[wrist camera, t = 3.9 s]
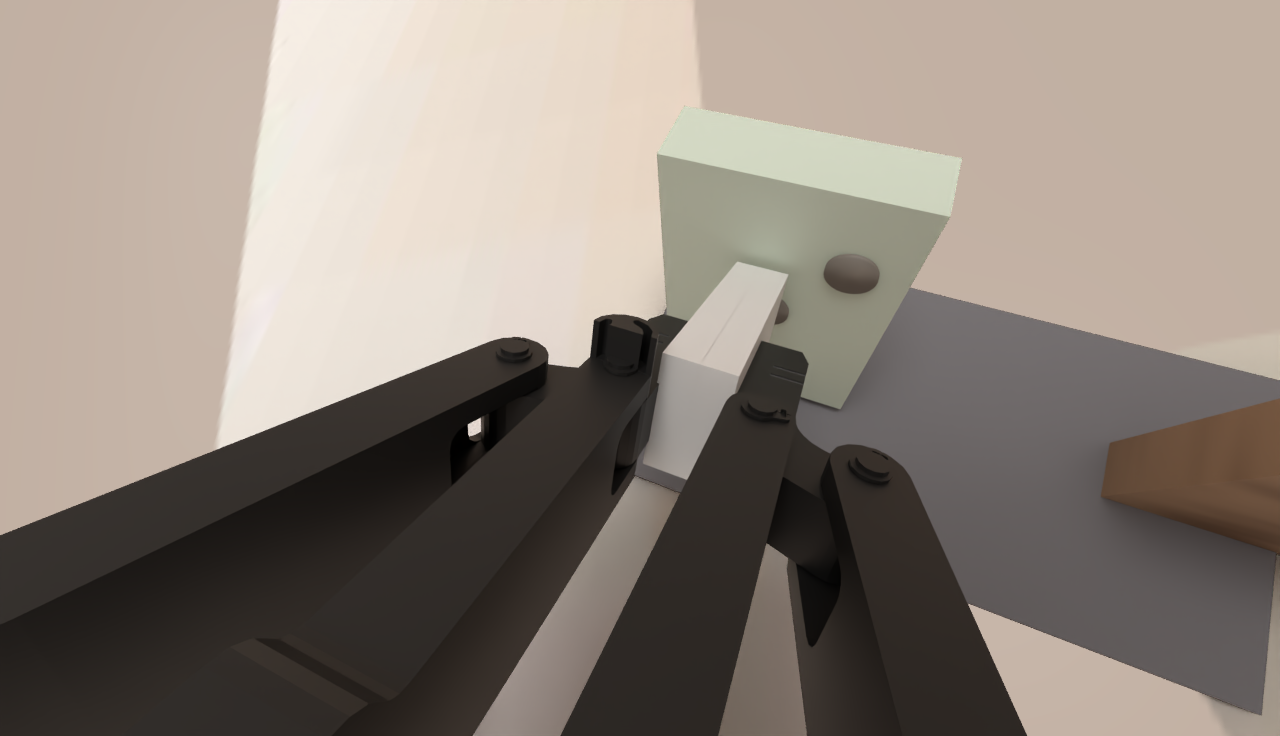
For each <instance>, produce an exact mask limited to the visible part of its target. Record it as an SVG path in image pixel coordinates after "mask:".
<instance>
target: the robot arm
mask: <svg viewBox="0 0 1280 736" xmlns="http://www.w3.org/2000/svg"><path fill="white" fill-rule="evenodd" d="M788 275H789V274H785V273H781V272H777V271H773V270H769V269H765V268H761V267H757V266H753V265H749V264H745V263H741V262H737V263H736V264H735V265H734V266H733V268H732V269H731V270H730V271H729V272H728V274H727V275H726V276H725V277H724V278H723V280H722V281H721V282H720V283H719V285H718V286H717V287H716V288H715V289H714V291H713V292H712V293H711V294H710V296H709V297H708V298H707V299H706V300H705V302H704V303H703V304H702V305H701V306H700V308H699V309H698V310H697V311H696V313H695V314H694V315H693V316H692V317H691V319H690V320H689V321H686V320H683V319H679V318H676V317H672V316H669V315H665V314H663V315H660V316H657V317H654V318H651V319H649V320H648V321H646V320H643V319H641V318H638V317H634V316H629V315H616V314H612V315H606V316H601V317H599V318H597V319H595V320H594V325H593V335H592V345H591V355H590V358H588V359H587V360H586V361H585V362H584V363H583V364H582V365H581V366H580V367H579V368H575V367H564V366H557V365H549V364H548V352H547V350H546V348H545V347H544V346H542V345H541V344H539V343H538V342H535V341H532V340H529V339H526V338H521V337H512V338H501V339H497V340H493V341H490V342H488V343H485V344H483V345H480V346H478V347H475V348H473V349H470V350H468V351H465V352H462V353H460V354H457V355H455V356H452V357H450V358H447V359H445V360H442V361H440V362H437V363H435V364H432V365H430V366H427V367H425V368H422V369H420V370H417V371H414V372H412V373H409V374H407V375H404V376H402V377H399V378H397V379H394V380H392V381H389V382H387V383H384V384H382V385H379V386H377V387H374V388H372V389H369V390H366V391H364V392H361V393H359V394H356V395H354V396H351V397H349V398H346V399H344V400H341V401H339V402H336V403H334V404H331V405H329V406H326V407H323V408H321V409H318V410H316V411H313V412H311V413H308V414H306V415H303V416H301V417H298V418H296V419H293V420H291V421H288V422H286V423H283V424H281V425H278V426H275V427H273V428H270V429H268V430H265V431H263V432H260V433H258V434H255V435H253V436H250V437H248V438H245V439H243V440H240V441H238V442H235V443H233V444H230V445H227V446H225V447H222V448H220V449H217V450H215V451H212V452H210V453H207V454H205V455H202V456H200V457H197V458H195V459H192V460H190V461H187V462H185V463H182V464H179V465H177V466H175V467H172V468H170V469H167V470H164V471H162V472H159V473H157V474H154V475H152V476H149V477H147V478H144V479H142V480H139V481H137V482H134V483H131V484H129V485H127V486H124V487H121V488H119V489H116V490H114V491H111V492H109V493H106V494H104V495H101V496H99V497H96V498H94V499H91V500H89V501H86V502H83V503H81V504H78V505H76V506H73V507H71V508H68V509H66V510H63V511H61V512H58V513H56V514H53V515H51V516H48V517H46V518H43V519H41V520H38V521H36V522H33V523H30V524H28V525H25V526H23V527H20V528H18V529H16V530H13V531H10V532H8V533H5V534H3V535H0V736H473V734H474V732H475V731H476V729H477V728H478V726H479V724H480V723H481V721H482V720H483V718H484V716H485V715H486V713H487V712H488V710H489V708H490V707H491V705H492V704H493V702H494V700H495V699H496V697H497V696H498V694H499V692H500V691H501V689H502V688H503V686H504V684H505V683H506V681H507V680H508V678H509V676H510V675H511V673H512V672H513V670H514V668H515V667H516V665H517V664H518V662H519V660H520V659H521V657H522V656H523V654H524V652H525V651H526V649H527V648H528V646H529V644H530V643H531V641H532V640H533V638H534V636H535V635H536V633H537V632H538V630H539V628H540V627H541V625H542V624H543V622H544V620H545V619H546V617H547V616H548V614H549V612H550V611H551V609H552V608H553V606H554V604H555V603H556V601H557V600H558V598H559V596H560V595H561V593H562V592H563V590H564V588H565V587H566V585H567V584H568V582H569V580H570V579H571V577H572V576H573V574H574V572H575V571H576V569H577V568H578V566H579V564H580V563H581V561H582V560H583V558H584V556H585V555H586V553H587V552H588V550H589V548H590V547H591V545H592V544H593V542H594V540H595V539H596V537H597V536H598V534H599V532H600V531H601V529H602V528H603V526H604V524H605V523H606V521H607V520H608V518H609V516H610V515H611V513H612V512H613V510H614V508H615V507H616V505H617V504H618V502H619V500H620V499H621V497H622V496H623V494H624V492H625V491H626V489H627V488H628V486H629V484H630V483H631V481H632V480H633V478H634V474H635V471H636V465H637V460H638V457H639V455H640V453H641V452H642V450H643V449H644V447H645V446H646V448H645V453H644V459H643V464H645V465H648V466H651V467H653V468H656V469H659V470H662V471H664V472H667V473H670V474H672V475H675V476H678V477H681V478H683V479H686V480H687V481H686V483H685V485H684V487H683V489H682V491H681V493H680V495H679V497H678V499H677V501H676V503H675V505H674V507H673V509H672V511H671V513H670V515H669V517H668V520H667V522H666V524H665V526H664V528H663V530H662V532H661V534H660V536H659V538H658V540H657V542H656V544H655V546H654V548H653V550H652V552H651V554H650V556H649V558H648V560H647V562H646V564H645V566H644V568H643V570H642V572H641V574H640V576H639V578H638V580H637V582H636V584H635V586H634V588H633V590H632V592H631V594H630V596H629V598H628V600H627V602H626V604H625V606H624V608H623V610H622V613H621V615H620V617H619V619H618V621H617V623H616V625H615V627H614V629H613V631H612V633H611V635H610V637H609V639H608V641H607V643H606V645H605V647H604V649H603V651H602V653H601V655H600V657H599V659H598V661H597V663H596V665H595V667H594V669H593V671H592V673H591V675H590V677H589V679H588V681H587V683H586V685H585V687H584V689H583V691H582V693H581V695H580V697H579V699H578V701H577V703H576V705H575V708H574V710H573V712H572V714H571V716H570V718H569V720H568V722H567V724H566V726H565V728H564V730H563V732H562V734H561V736H718V733H719V729H720V725H721V721H722V717H723V713H724V709H725V705H726V701H727V697H728V693H729V689H730V685H731V681H732V677H733V673H734V669H735V665H736V661H737V658H738V654H739V650H740V646H741V642H742V638H743V634H744V630H745V626H746V622H747V618H748V614H749V610H750V606H751V602H752V598H753V594H754V590H755V586H756V582H757V578H758V574H759V570H760V566H761V562H762V558H763V554H764V550H765V546H766V543H767V544H769V545H770V546H772V547H773V548H775V549H776V550H778V551H779V552H781V553H782V554H784V555H785V556H786V557H788V564H787V573H788V582H789V590H790V598H791V606H792V615H793V623H794V631H795V639H796V648H797V656H798V664H799V672H800V681H801V689H802V697H803V705H804V714H805V722H806V730H807V736H1027V734H1026V732H1025V730H1024V728H1023V726H1022V723H1021V721H1020V719H1019V717H1018V715H1017V712H1016V710H1015V708H1014V706H1013V703H1012V701H1011V699H1010V697H1009V694H1008V692H1007V691H1006V688H1005V686H1004V683H1003V681H1002V679H1001V677H1000V674H999V672H998V670H997V668H996V666H995V663H994V661H993V659H992V657H991V655H990V652H989V650H988V648H987V646H986V643H985V641H984V639H983V637H982V634H981V632H980V630H979V628H978V626H977V623H976V621H975V619H974V617H973V614H972V612H971V610H970V608H969V606H968V603H967V601H966V599H965V597H964V594H963V592H962V590H961V588H960V586H959V583H958V581H957V579H956V577H955V574H954V572H953V570H952V568H951V566H950V563H949V561H948V559H947V557H946V554H945V552H944V550H943V548H942V546H941V543H940V541H939V539H938V537H937V534H936V532H935V530H934V528H933V526H932V523H931V521H930V519H929V517H928V514H927V512H926V510H925V508H924V506H923V503H922V501H921V499H920V497H919V494H918V492H917V490H916V488H915V486H914V483H913V481H912V479H911V477H910V476H909V474H908V473H907V471H906V470H905V468H904V467H903V466H902V465H900V464H899V463H898V462H897V461H896V460H894V459H893V458H892V457H890V456H889V455H887V454H885V453H884V452H883V453H882V452H881V451H879V450H877V449H874V448H870V447H866V446H863V445H855V444H846V445H841V446H837V447H836V448H835V449H834V450H833V451H832V452H831V453H828V452H826V451H825V450H823V449H821V448H819V447H818V446H816V445H815V444H813V443H811V442H810V441H809V440H808V439H807V438H806V437H804V436H803V434H802V433H801V432H800V431H799V429H798V427H797V425H796V413H797V409H798V405H799V401H800V397H801V393H802V389H803V385H804V381H805V377H806V373H807V369H808V365H809V363H808V362H807V360H806V358H805V356H804V354H803V353H802V352H799V351H796V350H793V349H789V348H786V347H782V346H779V345H775V344H772V343H769V340H770V337H771V334H772V330H773V327H774V323H775V320H776V316H777V313H778V309H779V306H780V302H781V299H782V296H783V292H784V289H785V285H786V282H787V278H788ZM479 418H481V432H480V433H478V434H476V435H474V436H470V437H469V435H468V424H469V423H471V422H473V421H475V420H477V419H479Z"/></svg>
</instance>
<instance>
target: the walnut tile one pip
mask: <svg viewBox="0 0 1280 736" xmlns="http://www.w3.org/2000/svg"><path fill="white" fill-rule="evenodd" d="M1101 497H1103V498H1106V499H1109V500H1112V501H1116V502H1119V503H1122V504H1125V505H1128V506H1131V507H1134V508H1138V509H1141V510H1144V511H1147V512H1150V513H1153V514H1156V515H1160V516H1163V517H1166V518H1169V519H1172V520H1175V521H1178V522H1182V523H1185V524H1188V525H1191V526H1194V527H1197V528H1200V529H1204V530H1207V531H1210V532H1213V533H1216V534H1219V535H1222V536H1225V537H1229V538H1232V539H1235V540H1238V541H1241V542H1244V543H1247V544H1251V545H1254V546H1257V547H1260V548H1263V549H1266V550H1269V551H1273V552H1276V553H1279V554H1280V399H1276V400H1272V401H1268V402H1264V403H1260V404H1257V405H1253V406H1249V407H1245V408H1241V409H1237V410H1234V411H1230V412H1226V413H1222V414H1218V415H1214V416H1211V417H1207V418H1203V419H1199V420H1195V421H1191V422H1188V423H1184V424H1180V425H1176V426H1172V427H1168V428H1165V429H1161V430H1157V431H1153V432H1149V433H1145V434H1141V435H1138V436H1134V437H1130V438H1126V439H1122V440H1118V441H1115V442H1111V443H1110V445H1109V451H1108V456H1107V462H1106V468H1105V474H1104V480H1103V486H1102V491H1101Z"/></svg>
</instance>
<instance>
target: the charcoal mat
mask: <svg viewBox="0 0 1280 736" xmlns="http://www.w3.org/2000/svg"><path fill="white" fill-rule="evenodd" d="M664 314H665V315H667V307H666V310H665V312H664ZM1276 399H1280V380H1276V379H1272V378H1268V377H1264V376H1260V375H1256V374H1252V373H1248V372H1244V371H1240V370H1236V369H1232V368H1228V367H1224V366H1220V365H1216V364H1212V363H1208V362H1204V361H1200V360H1196V359H1192V358H1188V357H1184V356H1180V355H1176V354H1172V353H1168V352H1164V351H1160V350H1156V349H1152V348H1148V347H1144V346H1140V345H1136V344H1132V343H1128V342H1124V341H1120V340H1116V339H1112V338H1108V337H1104V336H1101V335H1097V334H1092V333H1088V332H1085V331H1081V330H1077V329H1073V328H1068V327H1065V326H1061V325H1057V324H1052V323H1049V322H1045V321H1041V320H1037V319H1033V318H1029V317H1025V316H1021V315H1017V314H1013V313H1009V312H1005V311H1001V310H997V309H993V308H989V307H985V306H981V305H977V304H973V303H969V302H965V301H961V300H957V299H953V298H949V297H945V296H941V295H937V294H933V293H929V292H925V291H921V290H917V289H913V288H909V290H908V292H907V294H906V295H905V297H904V299H903V301H902V302H901V304H900V306H899V308H898V309H897V311H896V313H895V315H894V316H893V318H892V320H891V322H890V323H889V325H888V327H887V329H886V330H885V332H884V334H883V336H882V337H881V339H880V341H879V343H878V344H877V346H876V348H875V350H874V351H873V353H872V355H871V357H870V358H869V360H868V362H867V364H866V365H865V367H864V369H863V371H862V372H861V374H860V376H859V378H858V379H857V381H856V383H855V385H854V386H853V388H852V390H851V392H850V393H849V395H848V397H847V399H846V400H845V402H844V404H843V406H842V407H841V409H838V408H834V407H831V406H828V405H825V404H822V403H819V402H815V401H812V400H809V399H806V398H803V397H800V401H799V405H798V409H797V413H796V425H797V427H798V429H799V431H800V432H801V433H802V434H803V436H804V437H806V438H807V439H808V440H809V441H810V442H811V443H813V444H815V445H816V446H818V447H819V448H821V449H823V450H825V451H826V452H828V453H831V452H832V451H833V450H834V449H835V448H836V447H837V446H841V445H846V444H855V445H863V446H866V447H870V448H874V449H877V450H879V451H881V452H882V453H883V452H884V453H885V454H887V455H889V456H890V457H892V458H893V459H894V460H896V461H897V462H898V463H899V464H900V465H902V466H903V467H904V468H905V470H906V471H907V473H908V474H909V476H910V477H911V479H912V481H913V483H914V486H915V488H916V490H917V492H918V494H919V497H920V499H921V501H922V503H923V506H924V508H925V510H926V512H927V514H928V517H929V519H930V521H931V523H932V526H933V528H934V530H935V532H936V534H937V537H938V539H939V541H940V543H941V546H942V548H943V550H944V552H945V554H946V557H947V559H948V561H949V563H950V566H951V568H952V570H953V572H954V574H955V577H956V579H957V581H958V583H959V586H960V588H961V590H962V592H963V594H964V597H965V599H966V601H967V603H968V604H971V605H974V606H976V607H979V608H981V609H984V610H987V611H989V612H992V613H994V614H997V615H1000V616H1002V617H1005V618H1008V619H1010V620H1013V621H1015V622H1018V623H1020V624H1023V625H1026V626H1028V627H1031V628H1034V629H1036V630H1039V631H1041V632H1044V633H1047V634H1049V635H1052V636H1054V637H1057V638H1060V639H1062V640H1065V641H1067V642H1070V643H1073V644H1075V645H1078V646H1080V647H1083V648H1086V649H1088V650H1091V651H1093V652H1096V653H1099V654H1101V655H1104V656H1107V657H1109V658H1112V659H1114V660H1117V661H1119V662H1122V663H1125V664H1127V665H1130V666H1133V667H1135V668H1138V669H1140V670H1143V671H1146V672H1148V673H1151V674H1153V675H1156V676H1158V677H1161V678H1164V679H1166V680H1169V681H1172V682H1174V683H1177V684H1179V685H1182V686H1185V687H1187V688H1190V689H1192V690H1195V691H1198V692H1200V693H1203V694H1205V695H1208V696H1211V697H1213V698H1216V699H1218V700H1221V701H1224V702H1226V703H1229V704H1231V705H1234V706H1237V707H1239V708H1242V709H1244V710H1247V711H1250V712H1253V713H1256V714H1259V715H1262V705H1263V694H1264V683H1265V672H1266V661H1267V650H1268V639H1269V629H1270V618H1271V607H1272V596H1273V585H1274V574H1275V563H1276V552H1273V551H1269V550H1266V549H1263V548H1260V547H1257V546H1254V545H1251V544H1247V543H1244V542H1241V541H1238V540H1235V539H1232V538H1229V537H1225V536H1222V535H1219V534H1216V533H1213V532H1210V531H1207V530H1204V529H1200V528H1197V527H1194V526H1191V525H1188V524H1185V523H1182V522H1178V521H1175V520H1172V519H1169V518H1166V517H1163V516H1160V515H1156V514H1153V513H1150V512H1147V511H1144V510H1141V509H1138V508H1134V507H1131V506H1128V505H1125V504H1122V503H1119V502H1116V501H1112V500H1109V499H1106V498H1103V497H1101V491H1102V486H1103V480H1104V474H1105V468H1106V462H1107V456H1108V451H1109V445H1110V443H1111V442H1115V441H1118V440H1122V439H1126V438H1130V437H1134V436H1138V435H1141V434H1145V433H1149V432H1153V431H1157V430H1161V429H1165V428H1168V427H1172V426H1176V425H1180V424H1184V423H1188V422H1191V421H1195V420H1199V419H1203V418H1207V417H1211V416H1214V415H1218V414H1222V413H1226V412H1230V411H1234V410H1237V409H1241V408H1245V407H1249V406H1253V405H1257V404H1260V403H1264V402H1268V401H1272V400H1276ZM645 448H646V446H645V447H644V449H643V450H642V452H641V453H640V455H639V457H638V460H637V465H636V471H635V474H634V475H635V476H638V477H640V478H643V479H645V480H648V481H651V482H653V483H656V484H658V485H661V486H664V487H666V488H669V489H672V490H674V491H677V492H679V493H681V491H682V489H683V487H684V485H685V483H686V481H687V480H686V479H683V478H681V477H678V476H675V475H672V474H670V473H667V472H664V471H662V470H659V469H656V468H653V467H651V466H648V465H645V464H643V459H644V453H645Z"/></svg>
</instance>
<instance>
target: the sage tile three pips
mask: <svg viewBox="0 0 1280 736" xmlns="http://www.w3.org/2000/svg"><path fill="white" fill-rule="evenodd" d="M961 161H962V158H958V157H953V156H948V155H942V154H937V153H931V152H927V151H921V150H916V149H911V148H905V147H900V146H894V145H889V144H884V143H878V142H873V141H868V140H863V139H858V138H852V137H846V136H841V135H836V134H831V133H825V132H820V131H814V130H810V129H804V128H799V127H794V126H788V125H783V124H777V123H772V122H767V121H762V120H757V119H751V118H746V117H741V116H735V115H730V114H725V113H720V112H714V111H709V110H704V109H698V108H693V107H688V106H684V108H683V110H682V111H681V113H680V115H679V116H678V118H677V120H676V122H675V123H674V125H673V127H672V129H671V130H670V132H669V134H668V135H667V137H666V139H665V141H664V142H663V144H662V146H661V148H660V149H659V151H658V153H657V162H658V178H659V195H660V211H661V227H662V243H663V259H664V275H665V291H666V307H667V315H669V316H672V317H676V318H679V319H683V320H686V321H689V320H690V319H691V317H692V316H693V315H694V314H695V313H696V311H697V310H698V309H699V308H700V306H701V305H702V304H703V303H704V302H705V300H706V299H707V298H708V297H709V296H710V294H711V293H712V292H713V291H714V289H715V288H716V287H717V286H718V285H719V283H720V282H721V281H722V280H723V278H724V277H725V276H726V275H727V274H728V272H729V271H730V270H731V269H732V268H733V266H734V265H735V264H736V263H737V262H741V263H745V264H749V265H753V266H757V267H761V268H765V269H769V270H773V271H777V272H781V273H785V274H789V275H788V278H787V282H786V285H785V289H784V292H783V296H782V299H781V302H780V306H779V309H778V313H777V316H776V320H775V323H774V327H773V330H772V334H771V337H770V340H769V343H772V344H775V345H779V346H782V347H786V348H789V349H793V350H796V351H799V352H802V353H803V354H804V356H805V358H806V360H807V362H808V363H809V365H808V369H807V373H806V377H805V381H804V385H803V389H802V393H801V397H803V398H806V399H809V400H812V401H815V402H819V403H822V404H825V405H828V406H831V407H834V408H838V409H841V407H842V406H843V404H844V402H845V400H846V399H847V397H848V395H849V393H850V392H851V390H852V388H853V386H854V385H855V383H856V381H857V379H858V378H859V376H860V374H861V372H862V371H863V369H864V367H865V365H866V364H867V362H868V360H869V358H870V357H871V355H872V353H873V351H874V350H875V348H876V346H877V344H878V343H879V341H880V339H881V337H882V336H883V334H884V332H885V330H886V329H887V327H888V325H889V323H890V322H891V320H892V318H893V316H894V315H895V313H896V311H897V309H898V308H899V306H900V304H901V302H902V301H903V299H904V297H905V295H906V294H907V292H908V290H909V288H910V287H911V285H912V283H913V281H914V280H915V278H916V276H917V274H918V272H919V271H920V269H921V267H922V265H923V264H924V262H925V260H926V259H927V256H928V255H929V253H930V252H931V250H932V248H933V246H934V245H935V243H936V241H937V239H938V238H939V235H940V234H941V232H942V231H943V229H944V227H945V225H946V224H947V222H948V220H949V218H950V216H951V211H952V205H953V201H954V196H955V191H956V186H957V181H958V175H959V171H960V166H961Z"/></svg>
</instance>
